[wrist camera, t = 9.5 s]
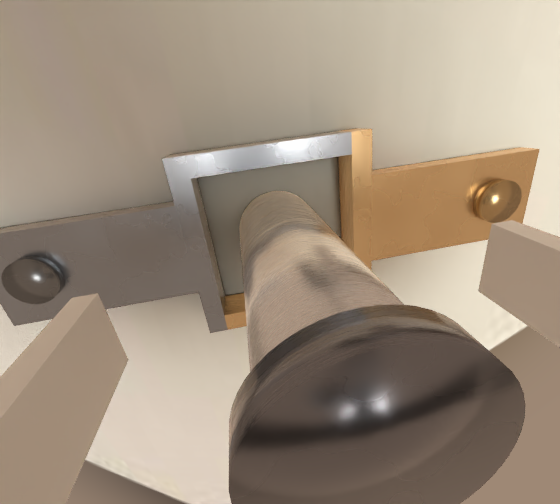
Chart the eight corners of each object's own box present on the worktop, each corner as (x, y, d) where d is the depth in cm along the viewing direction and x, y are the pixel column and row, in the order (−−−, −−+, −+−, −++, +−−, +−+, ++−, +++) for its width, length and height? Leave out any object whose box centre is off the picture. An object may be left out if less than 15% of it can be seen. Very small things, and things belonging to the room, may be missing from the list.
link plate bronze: (190, 151, 15) (184, 155, 13) (528, 103, 16) (566, 101, 14) (228, 309, 19) (227, 329, 17) (497, 258, 20) (523, 271, 18)
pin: (221, 189, 16) (192, 390, 4) (319, 174, 16) (562, 311, 4) (239, 277, 18) (256, 574, 6) (325, 261, 18) (495, 508, 7)
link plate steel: (-46, 185, 14) (-88, 194, 12) (337, 130, 15) (351, 131, 14) (46, 344, 18) (25, 369, 16) (343, 287, 19) (355, 304, 17)
